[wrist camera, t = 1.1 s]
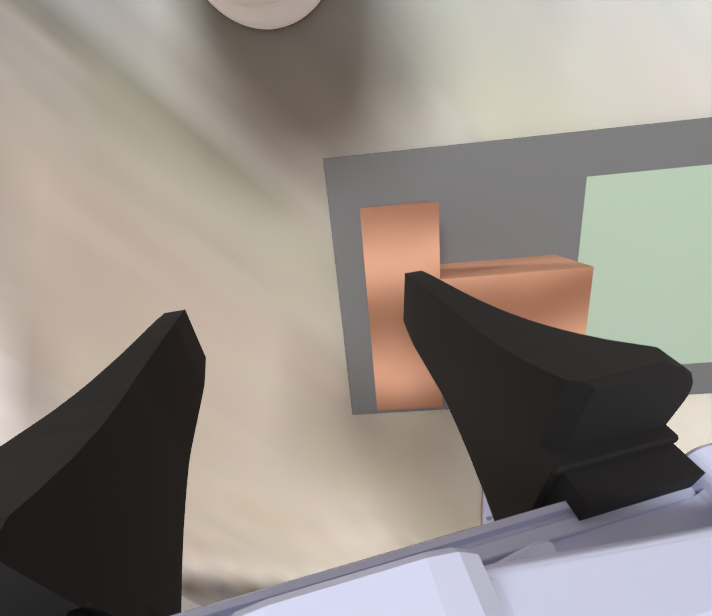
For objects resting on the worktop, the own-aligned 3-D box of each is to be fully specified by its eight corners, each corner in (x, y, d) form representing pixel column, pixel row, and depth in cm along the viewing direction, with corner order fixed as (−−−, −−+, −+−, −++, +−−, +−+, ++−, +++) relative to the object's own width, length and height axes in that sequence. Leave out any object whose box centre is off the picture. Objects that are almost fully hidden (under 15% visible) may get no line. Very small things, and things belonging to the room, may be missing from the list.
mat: (757, 385, 25) (767, 389, 24) (352, 409, 27) (352, 414, 26) (843, 104, 19) (857, 101, 19) (324, 159, 21) (323, 158, 20)
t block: (545, 366, 24) (577, 398, 20) (375, 377, 25) (377, 410, 21) (560, 188, 21) (603, 186, 17) (361, 207, 21) (359, 210, 17)
